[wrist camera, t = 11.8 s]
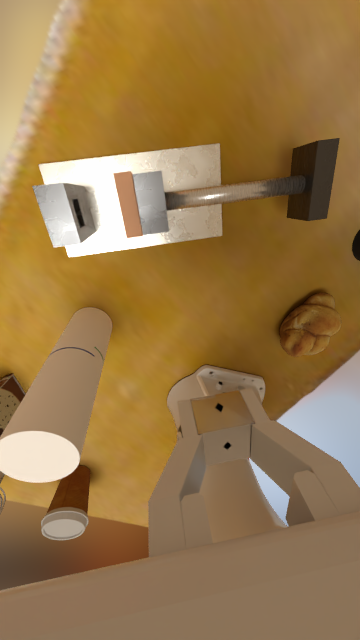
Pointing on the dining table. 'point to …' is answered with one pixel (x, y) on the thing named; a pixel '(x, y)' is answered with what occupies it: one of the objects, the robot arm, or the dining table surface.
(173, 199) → the shaft
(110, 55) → the dining table surface
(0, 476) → the french press
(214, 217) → the shaft frame
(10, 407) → the food container
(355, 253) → the wine bottle
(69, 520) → the disposable coffee cup
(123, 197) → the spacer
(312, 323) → the bread roll
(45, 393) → the cylindrical container
